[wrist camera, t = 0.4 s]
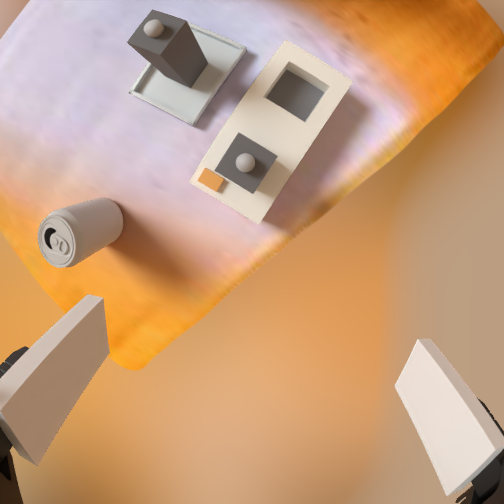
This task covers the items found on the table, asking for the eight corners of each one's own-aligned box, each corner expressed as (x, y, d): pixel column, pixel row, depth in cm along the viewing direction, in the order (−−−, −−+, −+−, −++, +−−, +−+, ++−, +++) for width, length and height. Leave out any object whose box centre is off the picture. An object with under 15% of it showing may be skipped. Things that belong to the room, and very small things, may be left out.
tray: (183, 24, 28) (180, 19, 27) (246, 51, 30) (246, 47, 28) (133, 95, 31) (128, 92, 30) (194, 126, 33) (191, 125, 31)
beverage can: (96, 189, 35) (41, 201, 23) (132, 209, 36) (84, 228, 24) (83, 230, 36) (30, 253, 25) (117, 250, 37) (70, 282, 26)
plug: (182, 52, 29) (149, 5, 17) (208, 63, 30) (184, 15, 17) (165, 76, 30) (122, 38, 18) (190, 88, 31) (156, 51, 18)
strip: (282, 52, 29) (291, 11, 19) (343, 90, 31) (375, 62, 20) (196, 180, 34) (170, 186, 24) (258, 218, 36) (259, 240, 25)
